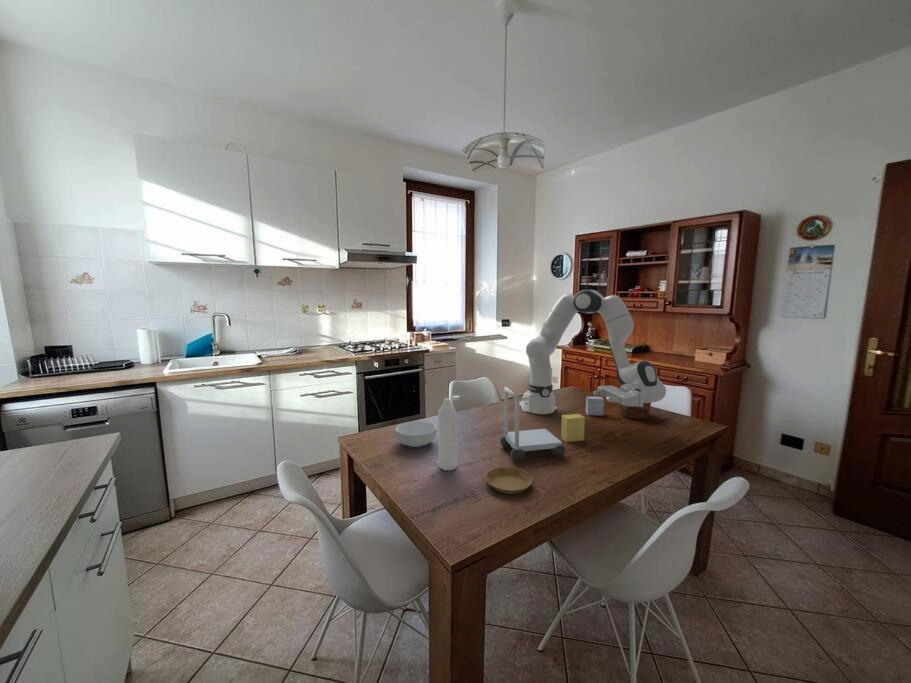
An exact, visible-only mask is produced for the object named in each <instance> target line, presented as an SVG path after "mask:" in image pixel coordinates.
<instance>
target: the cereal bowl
mask: <svg viewBox="0 0 911 683" xmlns="http://www.w3.org/2000/svg"><path fill="white" fill-rule="evenodd" d="M437 432H438V431H437V426H436V425H435V424H434V423H432V422H429V421H423V420H416V421H415V420H414V421H412V420H411V421H407V422H404V423H400V424H399V425H397V426H396V427H395V437H396V438H397V440H398V441H399V443H401V444H402V445H404V446H407V445H408V446H407V447H409V446H413V447H418V448H420V447H419V446H422V447H424V446H425V445H428V444H430V443H432V442H433V441H434V440H435V438H436V436H437ZM423 445H424V446H423ZM413 447H412V448H413Z"/></svg>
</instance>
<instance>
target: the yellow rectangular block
mask: <svg viewBox="0 0 911 683" xmlns="http://www.w3.org/2000/svg"><path fill="white" fill-rule="evenodd" d="M585 419H586V417H585V416H583V415H582V414H580V413H573V414H562V415H561V429H560V430H561V431H560V432H561V433H560V434H561V435H560V436H561V437H560V438H561V439H562V440H563V441H564V442H566V443H567V442H569V443H570V442H579V441H584V440H585V423H586V421H585Z"/></svg>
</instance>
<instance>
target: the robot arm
mask: <svg viewBox="0 0 911 683" xmlns="http://www.w3.org/2000/svg"><path fill="white" fill-rule="evenodd" d="M577 313H581V314H582V313H583V314H594V313H599V314H600V316H601V318H602V319H603V322H604V324H605V327H606V331H607V334H608V338H607V339H608V340H607V341H608V346H609V349H610V353H611V356H612V359H613V362H614V365H615V372H616V378H617V381H618V382H619V384H621V386H620V388H619V387H616V386H614V385H599V386H597V390H594V391H593V393H592V395H593V396H594V397H604V398H606V402H607V403H618V404H619V403H620V404H622V405H624V406H637V407H643V403H651V404H652V403H657V402H659V401H662V400H663V399H664V398H665V397H666V394H667V389H666V388H667V387H666V385H664V383H662V382H661V380H660V379H659V377H658V375H657V368H656V367H655V366H654V365H653V364H652V363H651V362H650V361H648V360H642V361H641V360H640V361H638V362H634V363H630V360H629V358H628V354H627V351H626V347H625V346H626V345H625V343H626V342H627V340H628V339H629V337H630V336H631V335H632V333H633V331H634V327H635V325H634V320H633V317H632V315H631V313H630V311H629V310H628V307H627V306H626V305H625V303H624V301H623V299H622V298H621V297H620V296H619V295H616V294H613V295H611V294H610V295H607V296H604V295H603V294H602V292H600V291H597V290H594V289H582V290H580V291H578V292H577V293H576V294H575V295H574V294H572V293H565V294H564V293H563V294H562V295H561V296H560V297H559V298H558V300H557V301H556V302H555V304H553V307H552V309H551V310H550V311H549V313H548V314H547V316H546V318H545V320H544V322H543V324H542V326H541V330H540V332H539V334H538V336H537V337H535V338H532V339H531V340H530V341H529V342H528V343H527V345H526V346H525V347H526V348H525V352H526V355H527V356H528V357H527V358H528V363H529V372H530V373H529V383H528V390H526V391H525V392H524V393H523V395H522V396H521V400H520V406H521V407H520V408H521V410H522V412H525V413H530V414H531V413H532V414H537V415H549V414H552V413H555V411H556V410H558V407H557V406H556V399H555V398H556V397H555V393H554V392H553V390H554V389H553V388H554V386H553V368H552V365H551V359H550V358H551V355H553V353H554V352H555V350H556V349H557V347H558V345H559V343H560V342H561V339H562V337H563V335H564V333H565V332H566V330H567V328H568V327H569V325H570V324H571V322H572V321H573V319H574V317H575V316H576V314H577Z"/></svg>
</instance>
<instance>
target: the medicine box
mask: <svg viewBox="0 0 911 683" xmlns="http://www.w3.org/2000/svg"><path fill="white" fill-rule="evenodd" d="M604 411H605V399H604V398H603V396H586V397H585V414H586V415H587V416H605V415H604V414H605V412H604Z"/></svg>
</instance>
